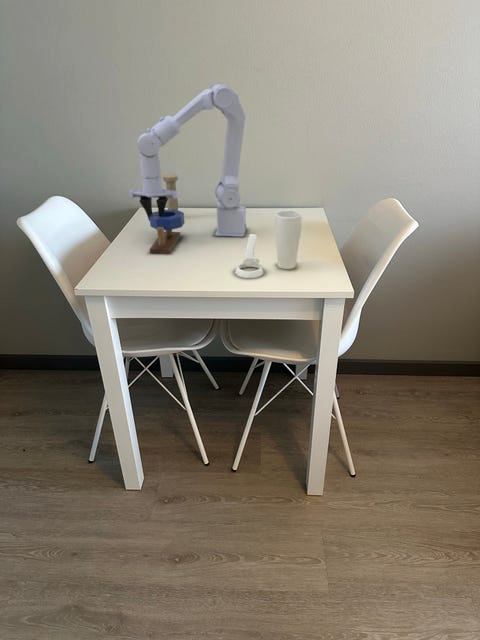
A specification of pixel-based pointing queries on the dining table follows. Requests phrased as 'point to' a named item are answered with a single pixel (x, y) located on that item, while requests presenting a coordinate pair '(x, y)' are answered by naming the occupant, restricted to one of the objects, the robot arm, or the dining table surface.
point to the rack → (165, 241)
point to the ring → (167, 219)
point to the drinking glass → (287, 237)
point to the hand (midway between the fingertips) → (156, 220)
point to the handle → (171, 185)
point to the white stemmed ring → (250, 260)
